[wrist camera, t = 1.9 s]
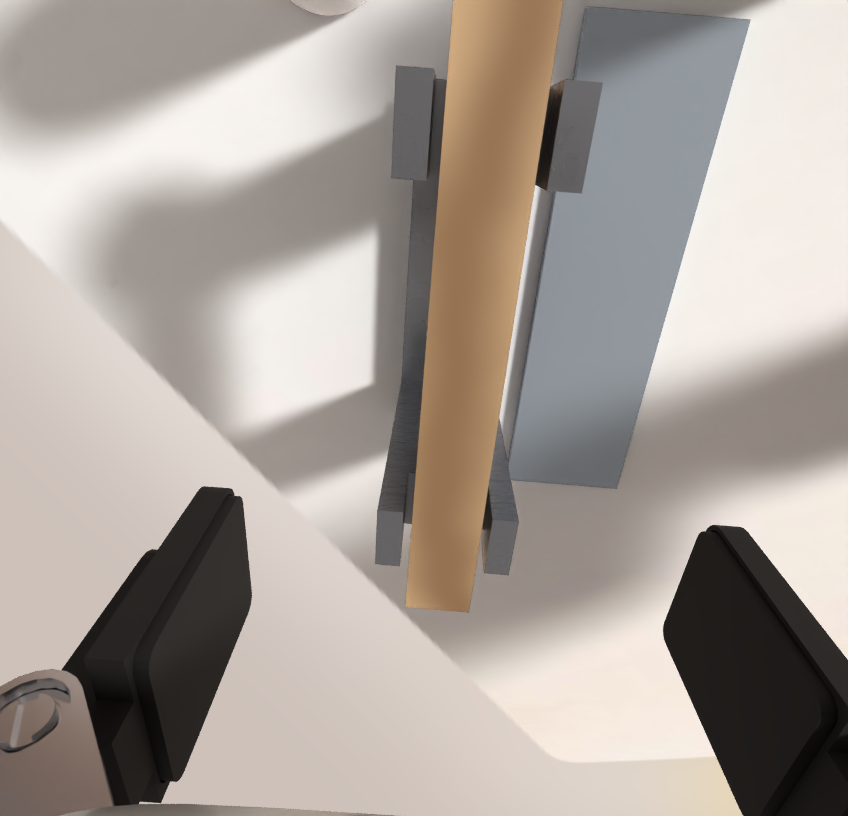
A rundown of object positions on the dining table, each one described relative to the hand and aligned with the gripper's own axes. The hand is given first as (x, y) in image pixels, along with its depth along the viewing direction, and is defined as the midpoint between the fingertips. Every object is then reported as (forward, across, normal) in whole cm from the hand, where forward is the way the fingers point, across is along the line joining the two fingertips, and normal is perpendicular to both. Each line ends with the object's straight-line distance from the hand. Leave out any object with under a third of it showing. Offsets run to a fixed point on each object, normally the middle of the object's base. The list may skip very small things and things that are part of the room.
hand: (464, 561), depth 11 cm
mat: (+25, -10, 0) cm, 26 cm away
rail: (+13, 0, 0) cm, 13 cm away
